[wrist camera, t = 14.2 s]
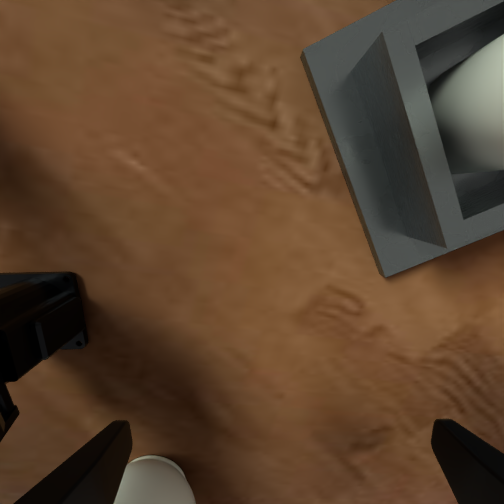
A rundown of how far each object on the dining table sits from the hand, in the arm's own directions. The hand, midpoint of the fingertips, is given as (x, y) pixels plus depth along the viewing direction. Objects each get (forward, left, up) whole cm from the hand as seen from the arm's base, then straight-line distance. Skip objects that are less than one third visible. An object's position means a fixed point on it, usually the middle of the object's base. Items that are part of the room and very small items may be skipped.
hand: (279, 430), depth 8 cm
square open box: (+13, +11, -13) cm, 21 cm away
